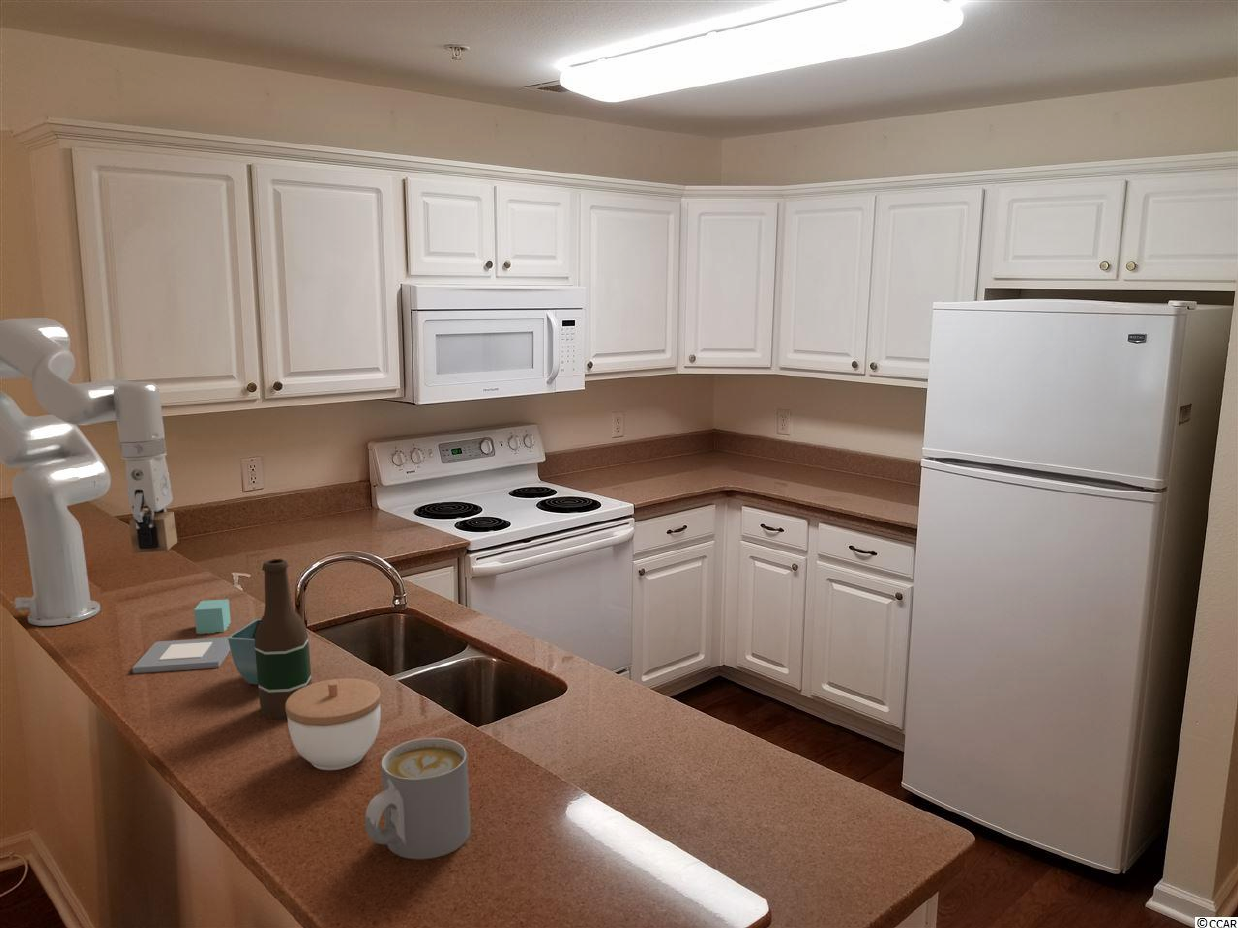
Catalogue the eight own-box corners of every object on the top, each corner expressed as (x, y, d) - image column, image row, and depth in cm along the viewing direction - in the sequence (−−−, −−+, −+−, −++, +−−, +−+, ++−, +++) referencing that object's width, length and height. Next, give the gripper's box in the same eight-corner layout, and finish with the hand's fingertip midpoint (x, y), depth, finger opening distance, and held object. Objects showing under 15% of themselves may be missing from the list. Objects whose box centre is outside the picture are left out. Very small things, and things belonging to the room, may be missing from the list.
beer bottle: (264, 724, 140) (250, 571, 135) (257, 704, 147) (244, 558, 142) (317, 713, 143) (305, 564, 139) (309, 694, 150) (297, 551, 146)
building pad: (133, 673, 159) (132, 666, 159) (156, 646, 171) (155, 640, 171) (219, 667, 161) (218, 660, 161) (236, 641, 173) (235, 635, 173)
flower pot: (279, 693, 151) (275, 640, 149) (231, 689, 152) (226, 637, 151) (308, 671, 159) (304, 621, 157) (261, 667, 161) (257, 618, 159)
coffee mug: (443, 802, 118) (439, 729, 116) (486, 835, 111) (483, 758, 109) (344, 844, 110) (338, 766, 108) (384, 883, 102) (379, 800, 100)
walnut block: (133, 552, 171) (129, 521, 170) (143, 544, 177) (140, 513, 176) (167, 550, 172) (163, 519, 171) (177, 542, 178) (173, 511, 177)
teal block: (196, 634, 177) (194, 609, 176) (204, 625, 182) (201, 600, 181) (224, 632, 178) (221, 607, 177) (230, 623, 183) (228, 599, 182)
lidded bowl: (333, 790, 121) (327, 711, 119) (270, 765, 128) (264, 690, 126) (403, 749, 132) (399, 676, 130) (341, 728, 138) (336, 658, 136)
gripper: (149, 456, 163) (161, 554, 167) (178, 440, 180) (189, 531, 183) (104, 458, 162) (117, 557, 165) (137, 443, 179) (148, 533, 182)
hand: (154, 542), depth 174 cm, fingers closed on walnut block, 6 cm apart
